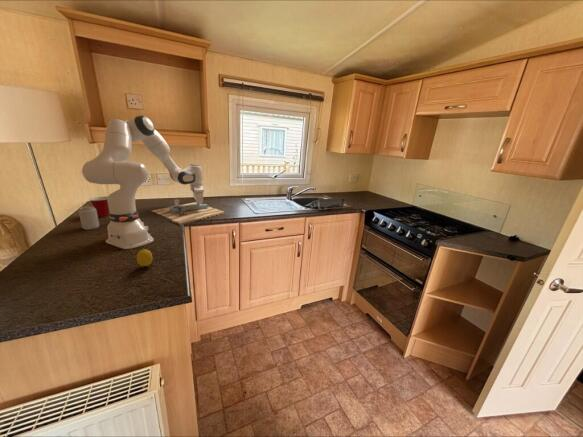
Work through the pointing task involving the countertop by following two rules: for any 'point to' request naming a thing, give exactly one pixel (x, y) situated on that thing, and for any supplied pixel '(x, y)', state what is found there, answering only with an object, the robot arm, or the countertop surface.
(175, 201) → the pin
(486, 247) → the countertop surface
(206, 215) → the board
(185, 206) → the keeper
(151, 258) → the lemon
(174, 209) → the link
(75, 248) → the countertop surface
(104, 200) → the plastic cup
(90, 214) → the can
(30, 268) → the countertop surface
